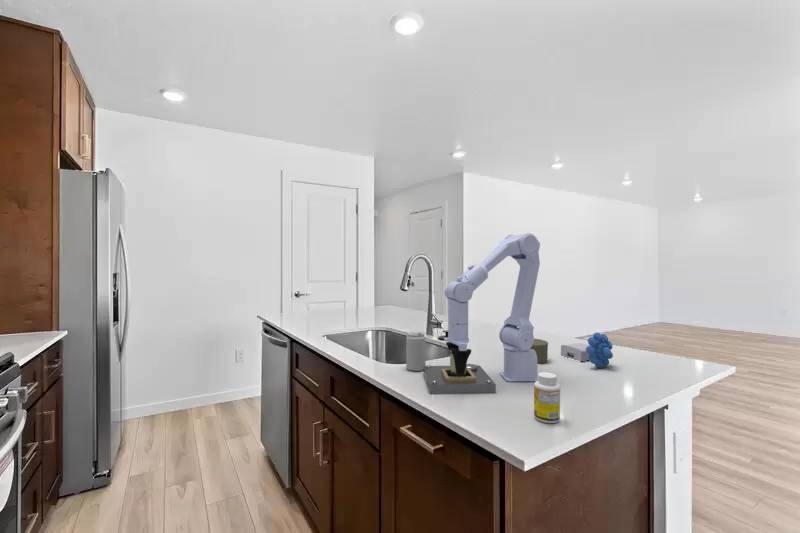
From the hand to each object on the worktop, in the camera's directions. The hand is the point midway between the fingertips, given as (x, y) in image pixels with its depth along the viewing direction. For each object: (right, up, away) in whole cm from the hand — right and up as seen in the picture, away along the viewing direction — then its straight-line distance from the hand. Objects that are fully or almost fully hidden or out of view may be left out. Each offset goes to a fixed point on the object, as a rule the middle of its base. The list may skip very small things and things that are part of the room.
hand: (458, 369), depth 111 cm
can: (+30, -4, +27) cm, 41 cm away
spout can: (0, -4, 0) cm, 4 cm away
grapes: (+51, -4, +17) cm, 53 cm away
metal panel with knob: (0, -4, +2) cm, 5 cm away
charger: (+52, -4, +31) cm, 61 cm away
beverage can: (-11, -4, +16) cm, 20 cm away
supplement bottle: (+17, -5, -23) cm, 29 cm away
